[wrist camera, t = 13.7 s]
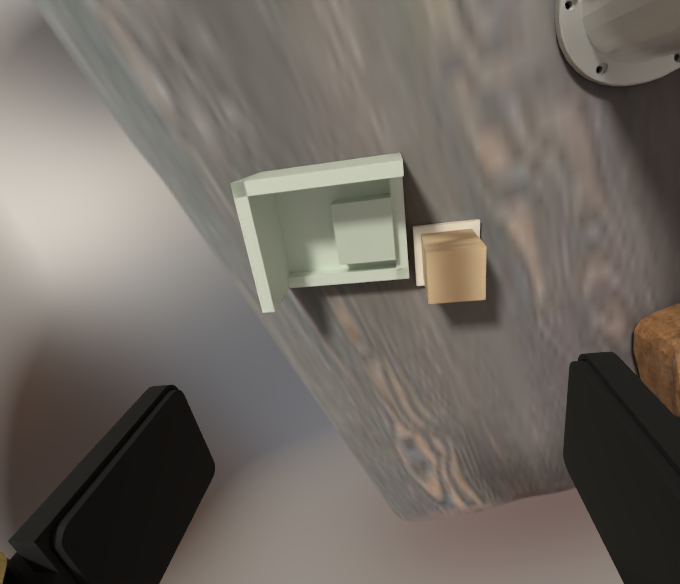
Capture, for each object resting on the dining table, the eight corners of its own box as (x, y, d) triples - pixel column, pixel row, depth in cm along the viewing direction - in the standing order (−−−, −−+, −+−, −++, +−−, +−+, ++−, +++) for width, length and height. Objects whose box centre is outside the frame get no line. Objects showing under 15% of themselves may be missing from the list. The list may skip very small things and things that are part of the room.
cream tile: (478, 218, 37) (480, 220, 36) (478, 278, 39) (479, 281, 39) (412, 225, 38) (412, 227, 37) (416, 283, 40) (416, 286, 40)
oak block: (471, 228, 36) (486, 246, 31) (472, 275, 38) (485, 299, 33) (420, 234, 37) (426, 252, 32) (423, 279, 39) (428, 304, 34)
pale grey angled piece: (399, 152, 35) (402, 159, 28) (408, 269, 40) (412, 302, 32) (260, 171, 37) (230, 183, 30) (284, 280, 42) (262, 312, 35)
